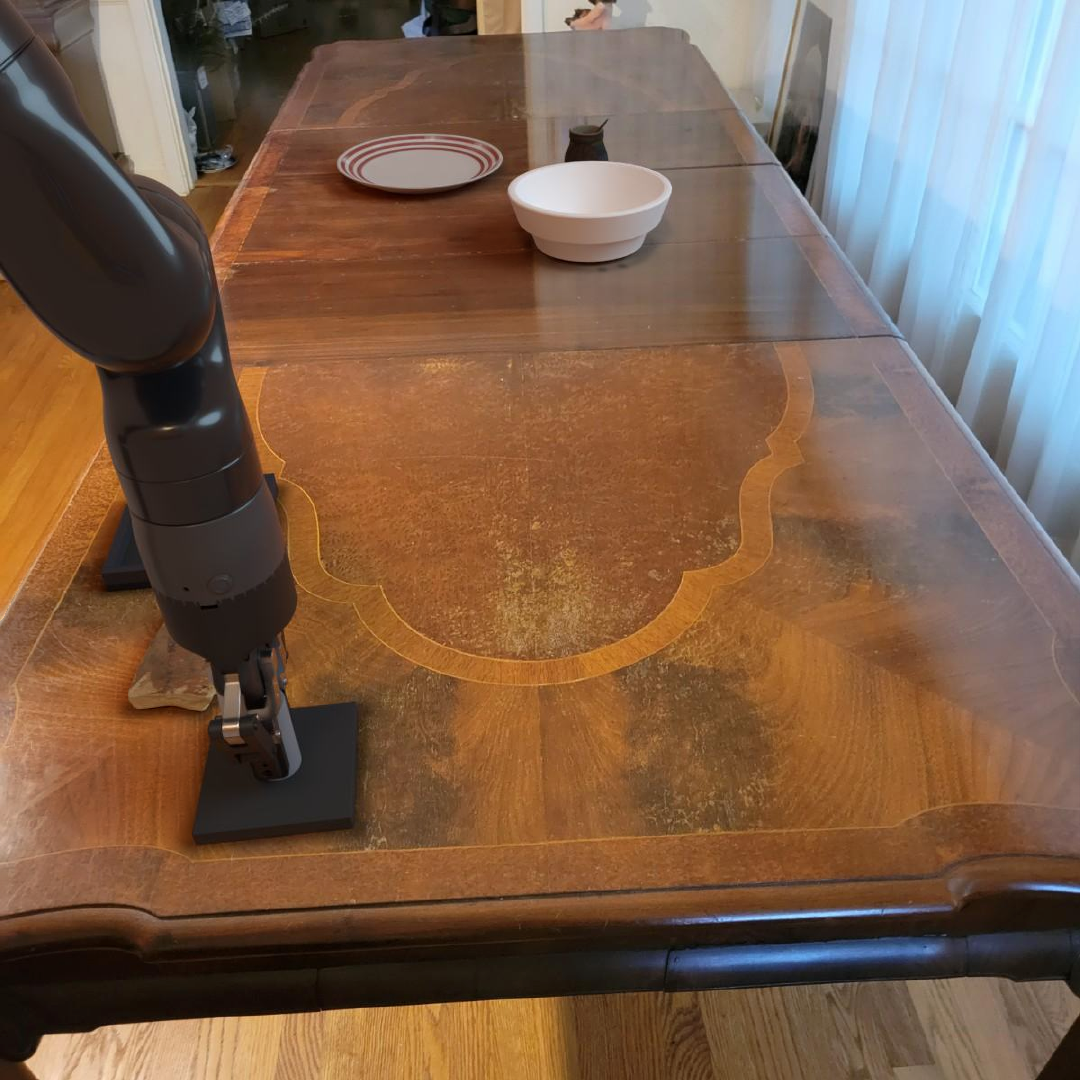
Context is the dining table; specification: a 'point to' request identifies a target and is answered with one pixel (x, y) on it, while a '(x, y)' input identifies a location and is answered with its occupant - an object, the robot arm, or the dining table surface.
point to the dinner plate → (419, 162)
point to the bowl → (589, 208)
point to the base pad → (125, 558)
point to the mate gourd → (586, 144)
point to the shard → (170, 677)
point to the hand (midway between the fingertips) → (275, 752)
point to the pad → (285, 781)
